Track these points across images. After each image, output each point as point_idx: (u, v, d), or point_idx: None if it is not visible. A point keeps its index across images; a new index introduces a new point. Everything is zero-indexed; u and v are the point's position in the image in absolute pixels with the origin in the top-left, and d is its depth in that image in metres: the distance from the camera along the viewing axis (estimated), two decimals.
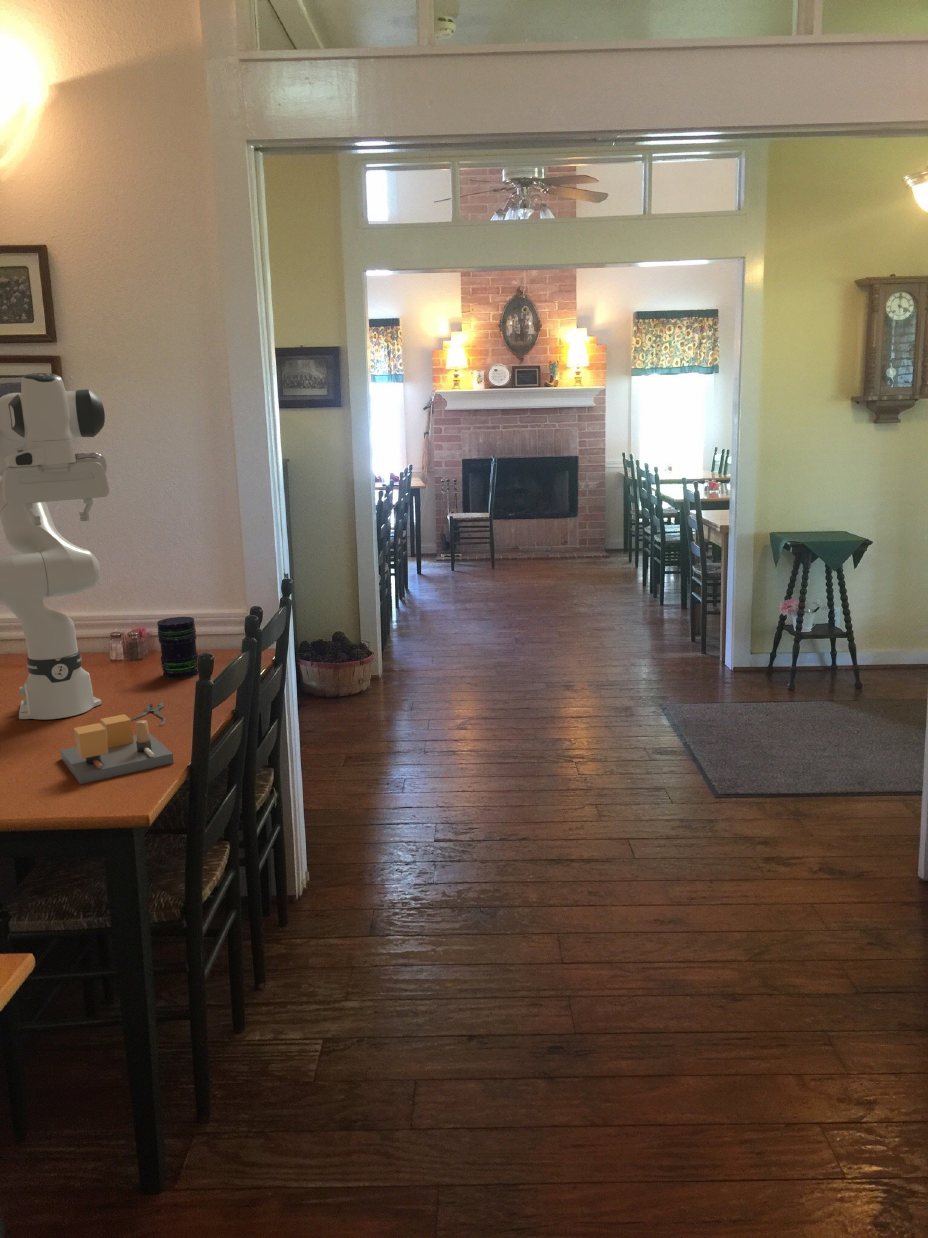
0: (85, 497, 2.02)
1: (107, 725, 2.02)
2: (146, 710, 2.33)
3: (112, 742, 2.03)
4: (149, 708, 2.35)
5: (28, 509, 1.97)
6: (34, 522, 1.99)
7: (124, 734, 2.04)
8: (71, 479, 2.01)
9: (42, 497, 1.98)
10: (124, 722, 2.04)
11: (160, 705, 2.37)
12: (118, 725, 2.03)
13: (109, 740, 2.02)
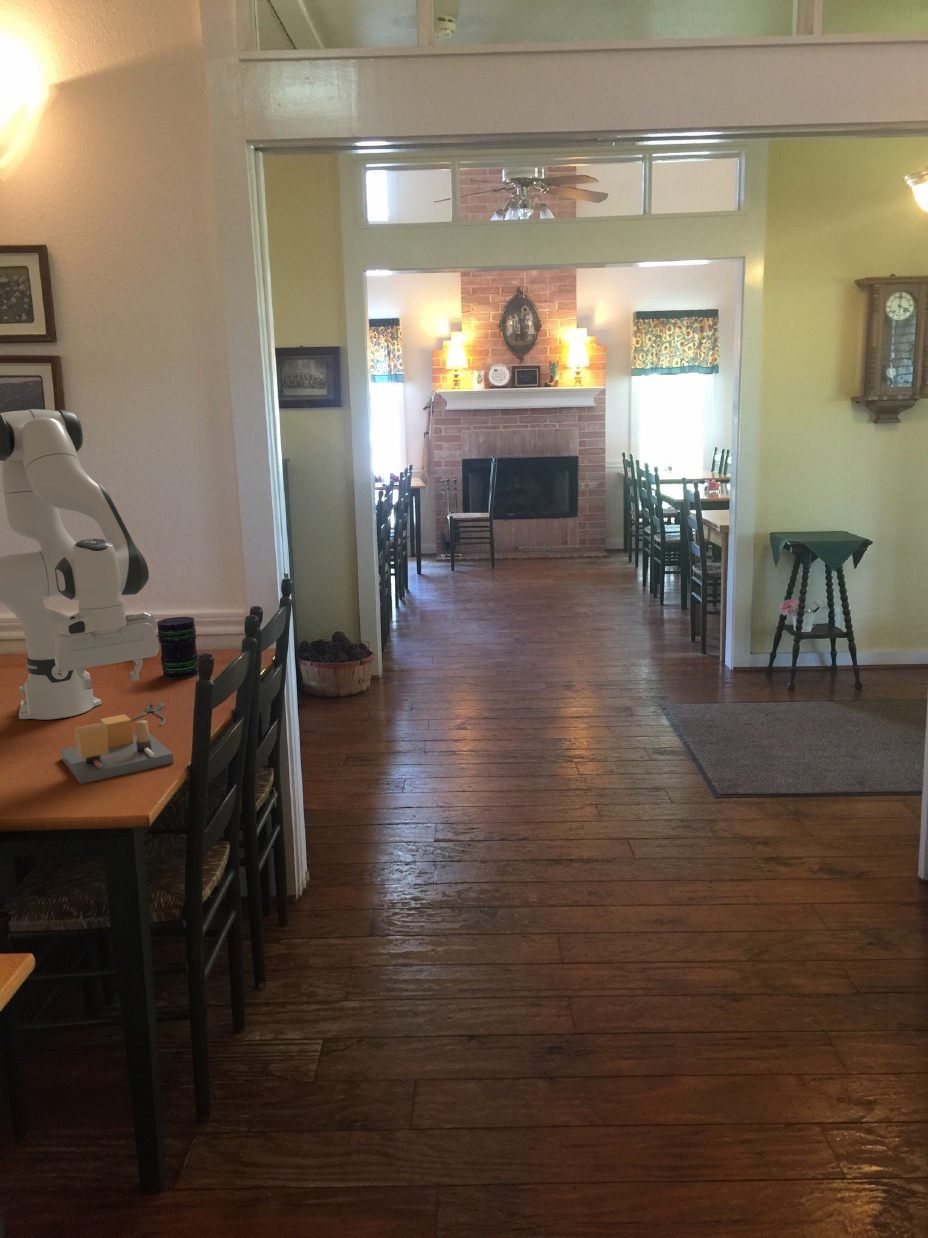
0: (135, 658, 2.03)
1: (107, 725, 2.02)
2: (146, 710, 2.33)
3: (112, 742, 2.03)
4: (149, 708, 2.35)
5: (80, 674, 1.99)
6: (86, 686, 2.00)
7: (124, 734, 2.04)
8: (122, 641, 2.02)
9: (94, 662, 1.99)
10: (124, 722, 2.04)
11: (160, 705, 2.37)
12: (118, 725, 2.03)
13: (109, 740, 2.02)
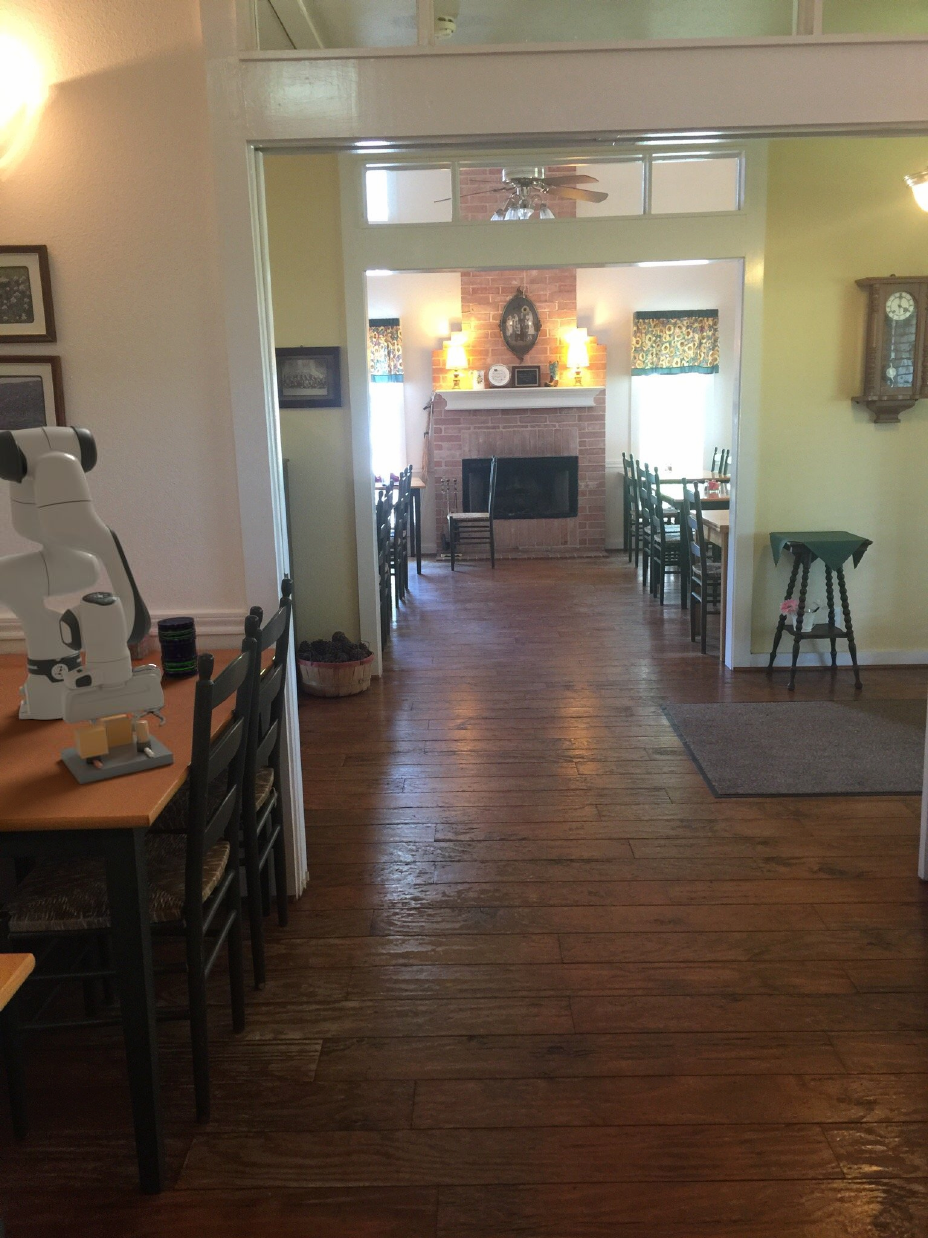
0: (141, 709, 2.06)
1: (107, 725, 2.02)
2: (146, 710, 2.33)
3: (112, 742, 2.03)
4: None
5: None
6: None
7: (124, 734, 2.04)
8: (128, 693, 2.04)
9: (100, 714, 2.01)
10: (124, 722, 2.04)
11: None
12: (118, 725, 2.03)
13: (109, 740, 2.02)
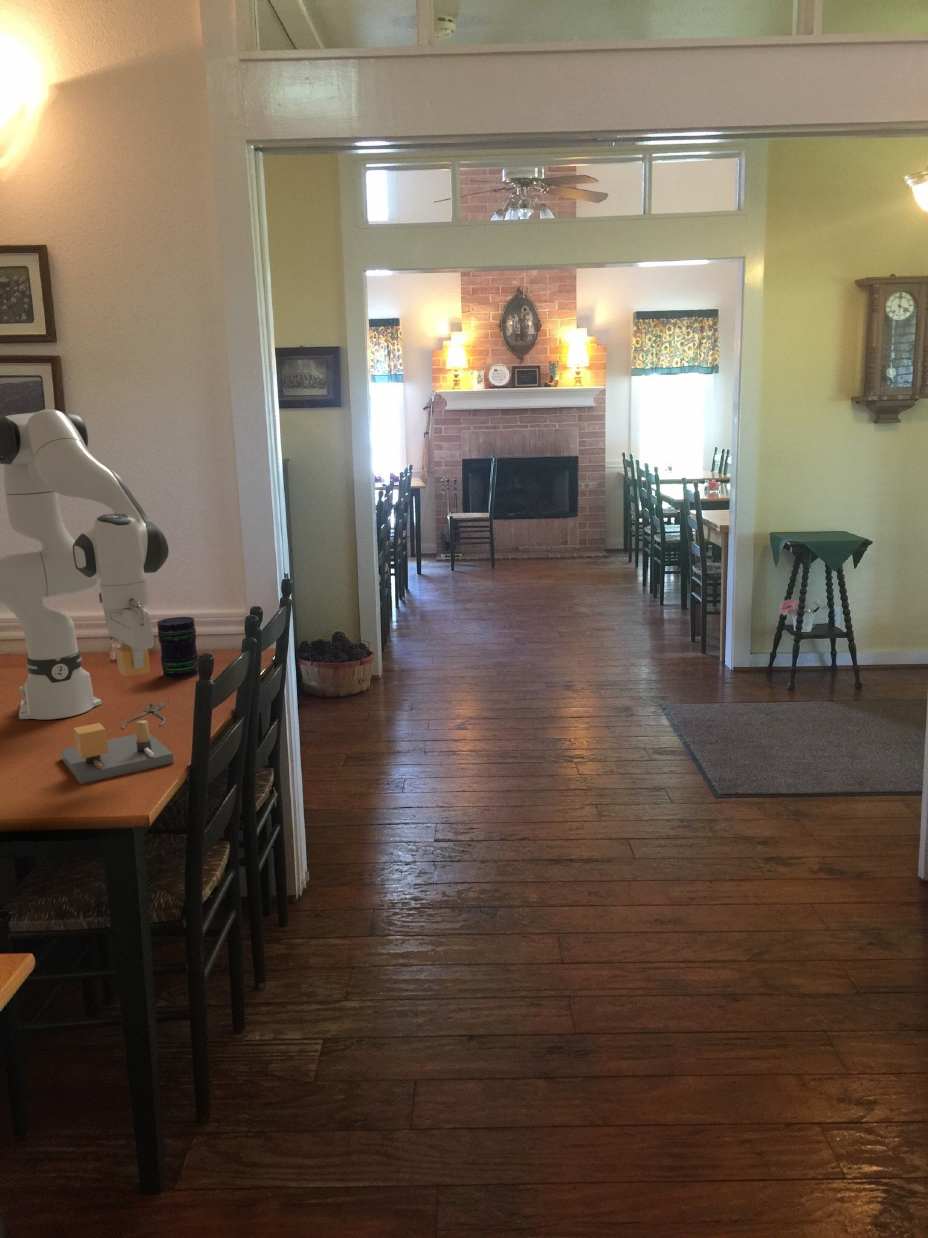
0: None
1: (116, 649, 1.96)
2: (146, 710, 2.33)
3: (119, 668, 1.97)
4: (149, 708, 2.35)
5: (120, 645, 1.99)
6: None
7: (121, 664, 1.94)
8: (124, 624, 1.92)
9: (117, 636, 1.97)
10: (120, 652, 1.93)
11: (160, 705, 2.37)
12: (119, 653, 1.95)
13: None
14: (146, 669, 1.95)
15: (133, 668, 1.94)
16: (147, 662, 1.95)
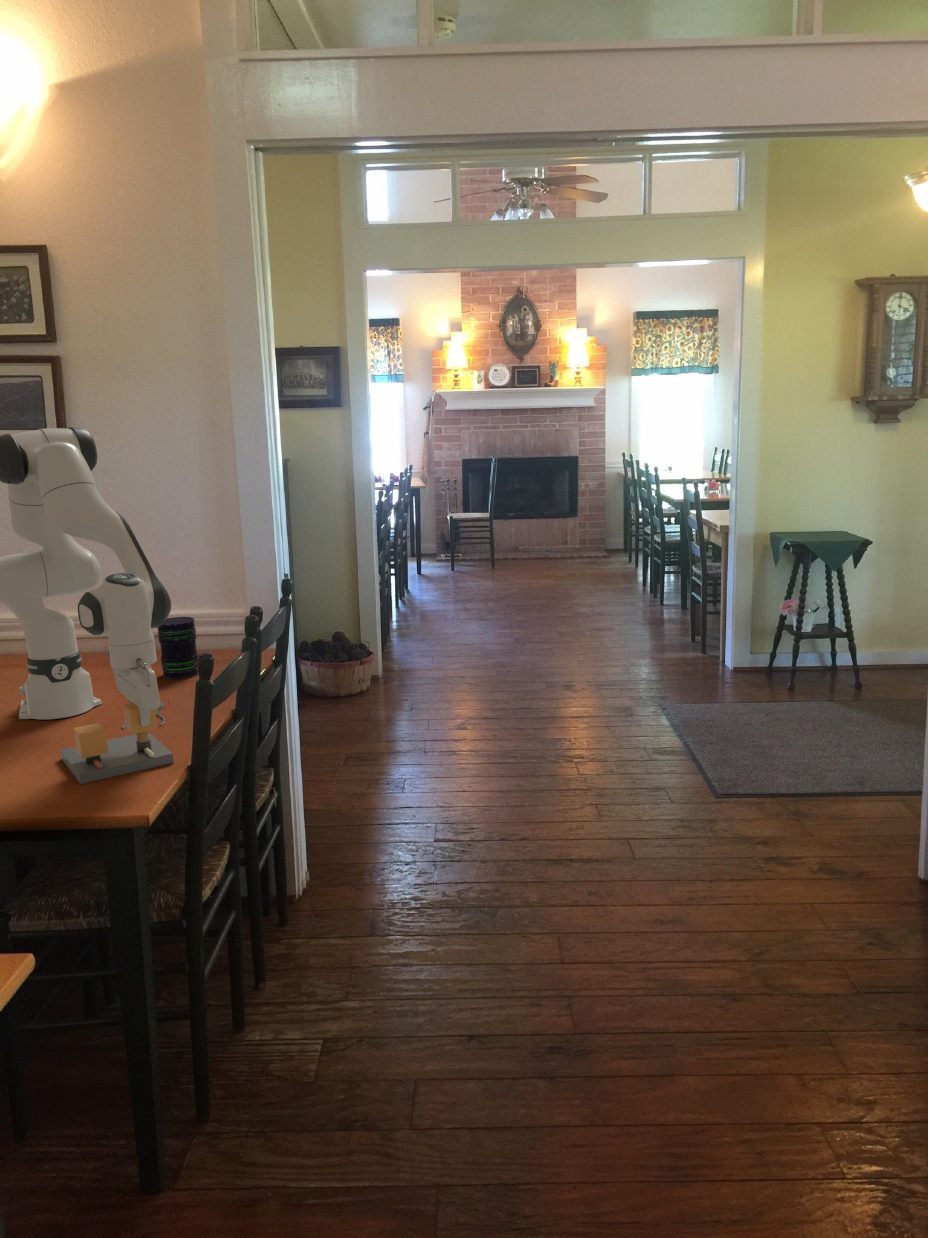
0: (136, 705, 1.93)
1: (123, 706, 1.99)
2: None
3: (126, 724, 1.99)
4: None
5: (128, 701, 2.01)
6: None
7: (128, 722, 1.96)
8: (131, 683, 1.94)
9: (124, 693, 1.99)
10: (127, 710, 1.96)
11: (160, 705, 2.37)
12: (126, 710, 1.97)
13: (125, 721, 1.99)
14: (153, 726, 1.98)
15: (140, 726, 1.96)
16: (154, 719, 1.98)
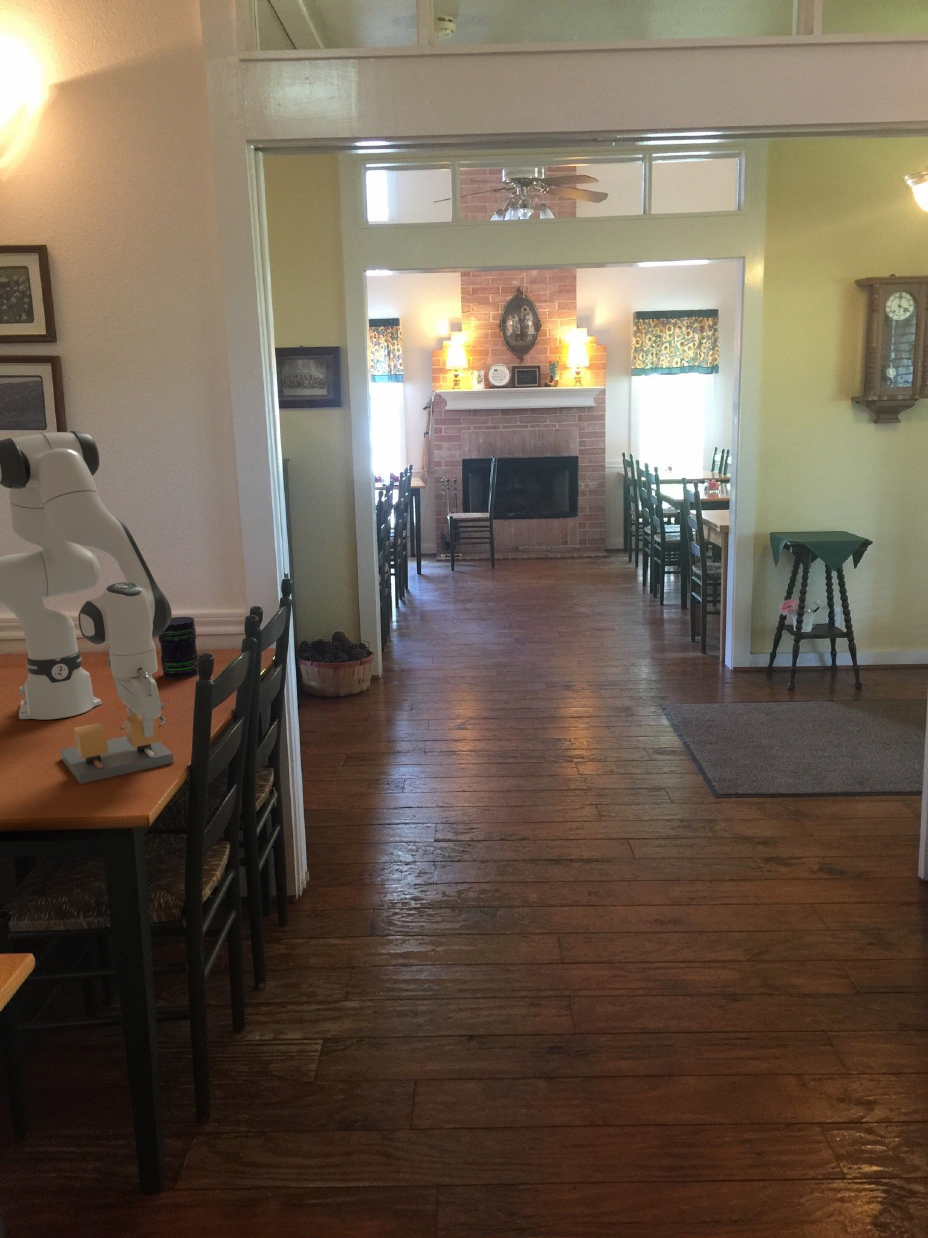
0: (137, 714, 1.93)
1: (125, 719, 1.99)
2: None
3: (127, 737, 2.00)
4: None
5: (127, 708, 2.03)
6: None
7: (130, 735, 1.97)
8: (133, 692, 1.94)
9: (125, 701, 2.00)
10: (129, 723, 1.97)
11: (160, 705, 2.37)
12: (127, 723, 1.98)
13: None
14: (154, 739, 1.98)
15: (141, 739, 1.97)
16: (155, 732, 1.98)
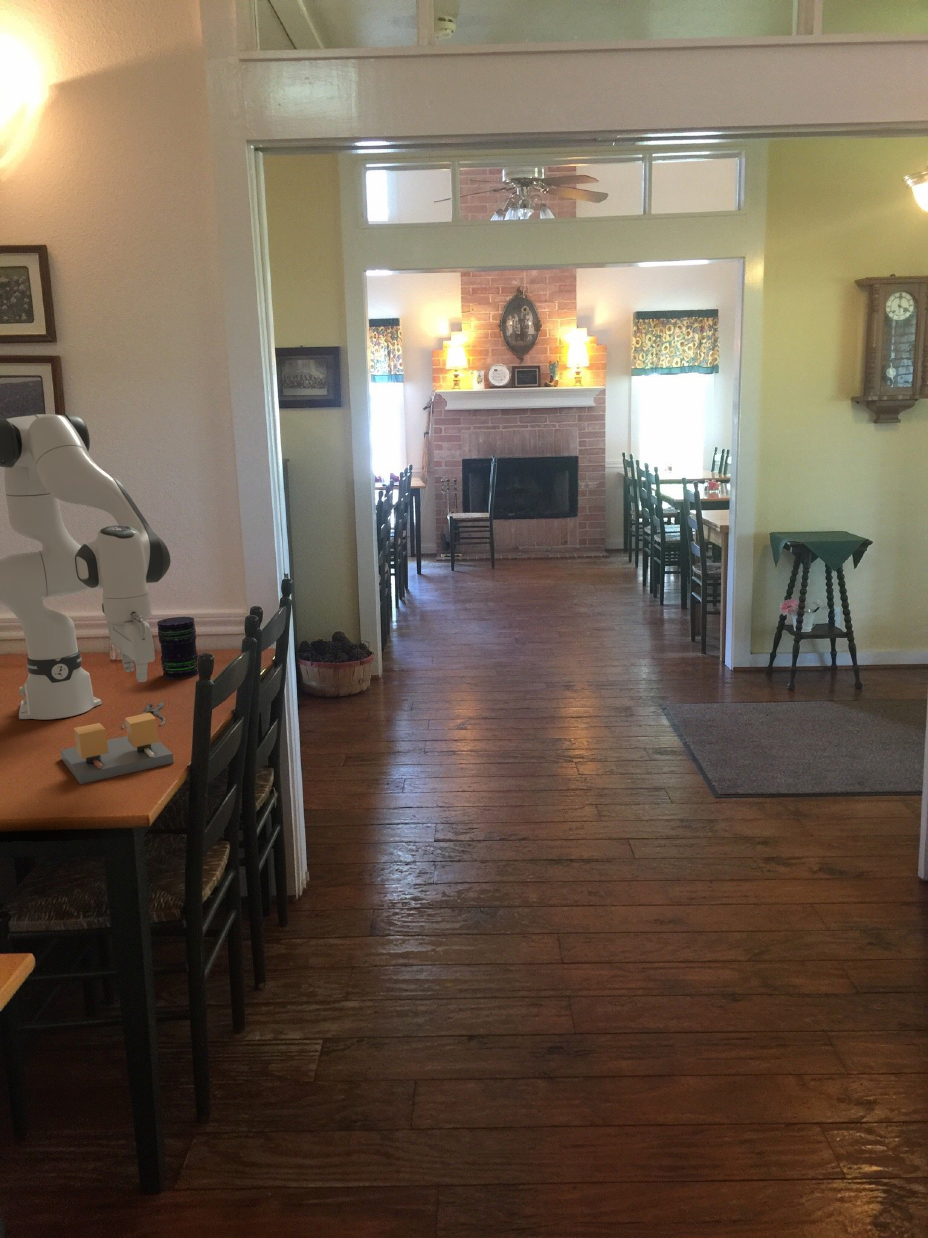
0: (131, 658, 1.91)
1: (125, 719, 1.99)
2: (146, 710, 2.33)
3: (128, 737, 2.00)
4: (149, 708, 2.35)
5: (120, 654, 2.01)
6: (124, 668, 2.01)
7: (130, 735, 1.97)
8: (126, 637, 1.92)
9: (119, 647, 1.98)
10: (129, 723, 1.97)
11: (160, 705, 2.37)
12: (127, 723, 1.98)
13: (127, 734, 2.00)
14: (154, 739, 1.98)
15: (141, 739, 1.97)
16: (155, 732, 1.98)
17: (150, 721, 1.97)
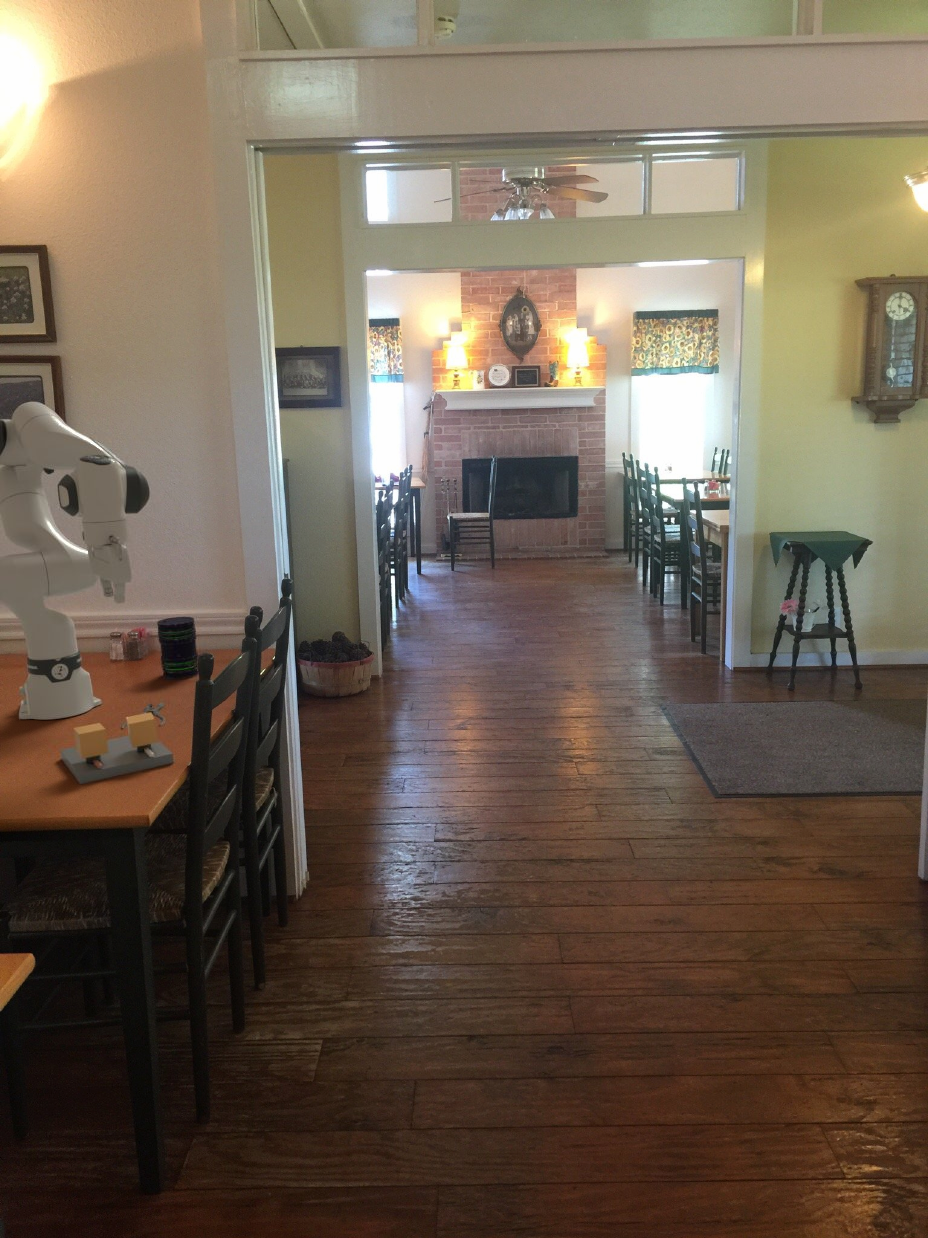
0: (109, 580, 2.01)
1: (126, 718, 2.00)
2: (146, 710, 2.33)
3: (129, 737, 2.00)
4: (149, 708, 2.35)
5: (100, 581, 2.11)
6: (103, 593, 2.11)
7: (130, 735, 1.98)
8: (105, 560, 2.02)
9: (98, 572, 2.08)
10: (128, 723, 1.97)
11: (160, 705, 2.37)
12: (127, 723, 1.98)
13: None
14: (153, 739, 1.98)
15: (140, 739, 1.97)
16: (154, 732, 1.98)
17: (149, 722, 1.97)
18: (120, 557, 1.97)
